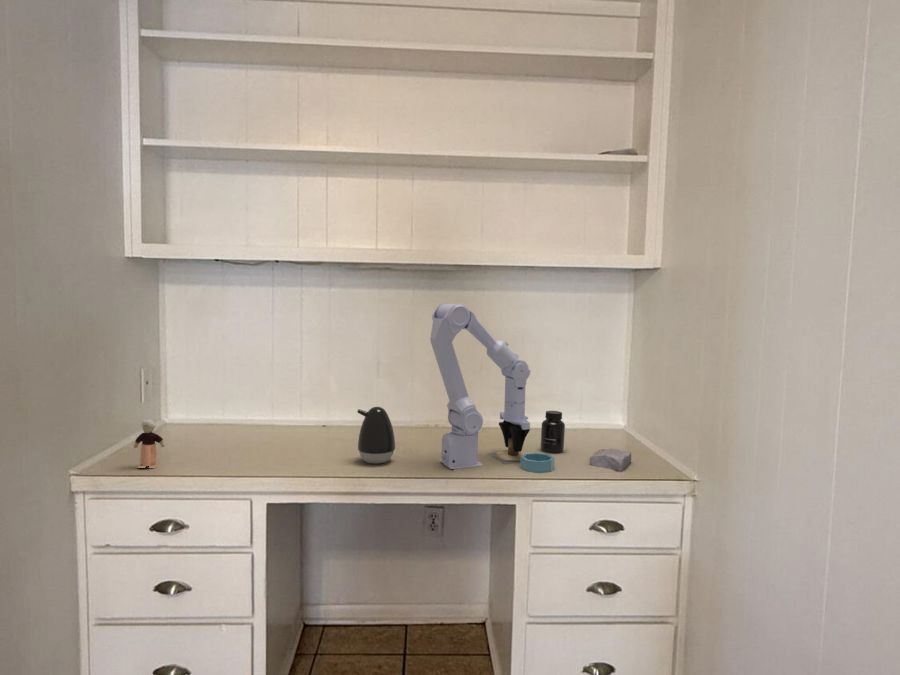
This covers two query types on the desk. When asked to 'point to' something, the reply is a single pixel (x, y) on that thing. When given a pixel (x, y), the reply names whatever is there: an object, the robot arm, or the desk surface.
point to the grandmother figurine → (148, 443)
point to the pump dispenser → (376, 436)
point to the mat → (501, 460)
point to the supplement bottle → (552, 433)
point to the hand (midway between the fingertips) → (513, 449)
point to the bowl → (537, 462)
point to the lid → (510, 453)
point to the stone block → (611, 459)
